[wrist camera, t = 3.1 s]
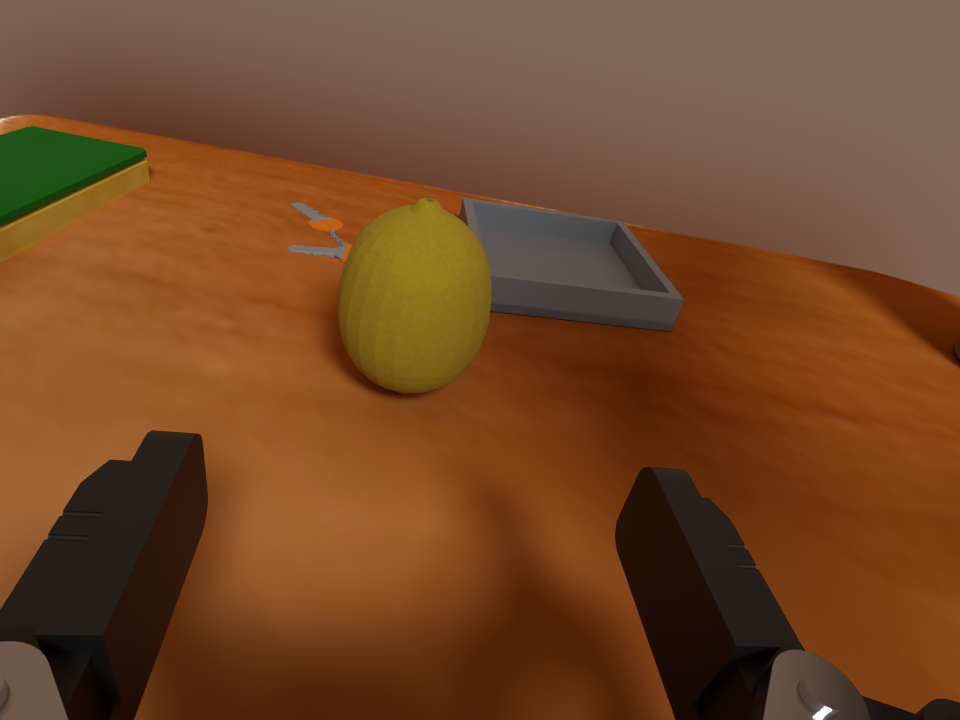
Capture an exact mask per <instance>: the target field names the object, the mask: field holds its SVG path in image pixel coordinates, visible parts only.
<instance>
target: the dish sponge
mask: <svg viewBox="0 0 960 720" xmlns="http://www.w3.org/2000/svg"><path fill="white" fill-rule="evenodd" d="M145 157H147V154H146V150H145V149H144V148H139V147H134V146H129V145H124V144H119V143H114V142H109V141H104V140H99V139H94V138H89V137H84V136H79V135H74V134H69V133H63V132H58V131H53V130H48V129H43V128H38V127H33V126H31V127H26V128H23V129H20V130H16V131H13V132H9V133H6V134H3V135H0V263H1V262H2V261H4V260H6V259H8V258H10V257H12V256H14V255H15V254H17V253H19V252H21V251H23V250H25V249H26V248H28V247H30V246H32V245H34V244H36V243H37V242H39V241H41V240H43V239H45V238H47V237H49V236H50V235H52V234H54V233H56V232H58V231H60V230H61V229H63V228H65V227H67V226H69V225H71V224H73V223H74V222H76V221H78V220H80V219H82V218H84V217H85V216H87V215H89V214H91V213H93V212H95V211H96V210H98V209H100V208H102V207H104V206H106V205H108V204H109V203H111V202H113V201H115V200H117V199H119V198H120V197H122V196H124V195H126V194H128V193H130V192H131V191H133V190H135V189H137V188H139V187H141V186H143V185H144V184H146V183H148V182H150V177H149V169H148V161H147V160H146V159H145Z"/></svg>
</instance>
